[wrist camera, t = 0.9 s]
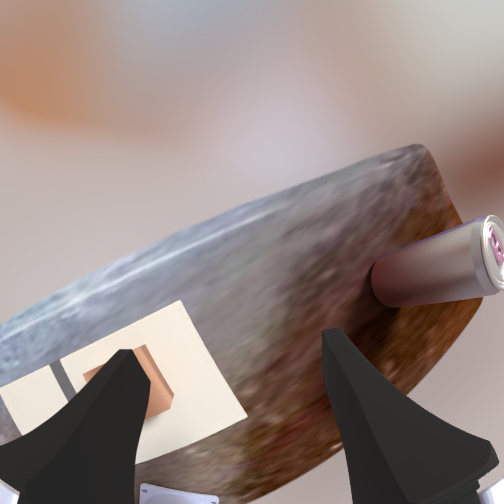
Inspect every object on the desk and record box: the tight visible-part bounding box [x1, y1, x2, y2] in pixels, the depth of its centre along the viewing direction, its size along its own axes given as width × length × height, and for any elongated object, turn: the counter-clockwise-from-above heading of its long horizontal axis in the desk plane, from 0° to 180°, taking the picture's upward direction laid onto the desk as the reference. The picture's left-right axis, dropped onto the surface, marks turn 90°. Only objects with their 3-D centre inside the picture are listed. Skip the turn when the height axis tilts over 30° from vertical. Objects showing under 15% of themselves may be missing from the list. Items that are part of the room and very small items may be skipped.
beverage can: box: [371, 215, 504, 307], centre depth 21 cm, size 6×6×15 cm
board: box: [0, 300, 248, 464], centre depth 19 cm, size 24×12×1 cm, turn 119°
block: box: [82, 344, 174, 420], centre depth 19 cm, size 5×5×4 cm
